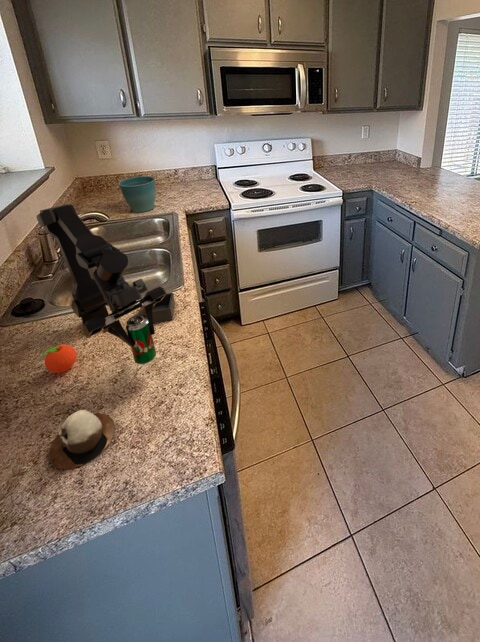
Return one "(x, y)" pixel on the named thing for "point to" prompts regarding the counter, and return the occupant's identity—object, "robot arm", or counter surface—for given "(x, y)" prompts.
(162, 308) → the waste bin
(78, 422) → the hat
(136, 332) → the soda can
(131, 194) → the flower pot
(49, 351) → the clementine
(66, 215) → the robot arm
